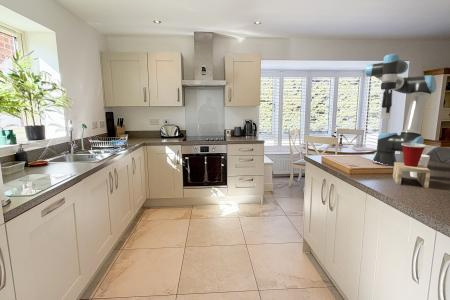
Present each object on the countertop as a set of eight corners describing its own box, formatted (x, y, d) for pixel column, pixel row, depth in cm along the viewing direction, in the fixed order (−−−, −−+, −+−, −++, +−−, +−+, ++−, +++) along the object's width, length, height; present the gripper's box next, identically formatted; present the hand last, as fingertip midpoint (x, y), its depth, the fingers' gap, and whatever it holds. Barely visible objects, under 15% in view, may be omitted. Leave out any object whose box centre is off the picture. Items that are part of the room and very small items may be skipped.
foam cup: (426, 179, 141) (430, 157, 139) (406, 176, 146) (409, 155, 144) (426, 176, 148) (429, 155, 146) (407, 173, 154) (409, 153, 152)
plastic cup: (401, 166, 132) (403, 144, 130) (396, 162, 142) (399, 142, 140) (426, 168, 128) (429, 145, 126) (420, 164, 137) (423, 143, 135)
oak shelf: (392, 176, 146) (394, 161, 145) (419, 179, 140) (421, 164, 139) (397, 184, 130) (399, 167, 129) (428, 187, 125) (430, 170, 123)
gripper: (378, 84, 158) (375, 117, 161) (384, 80, 136) (380, 118, 139) (392, 84, 155) (389, 118, 158) (400, 79, 132) (396, 119, 136)
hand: (385, 118), depth 148 cm, fingers open, 13 cm apart
